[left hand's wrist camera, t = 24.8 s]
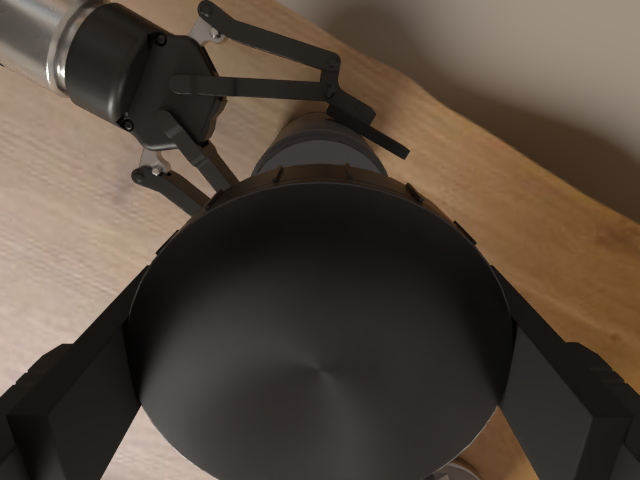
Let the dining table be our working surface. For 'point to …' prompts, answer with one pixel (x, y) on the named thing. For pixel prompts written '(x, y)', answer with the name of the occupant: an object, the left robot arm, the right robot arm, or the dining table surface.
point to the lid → (319, 331)
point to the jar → (318, 146)
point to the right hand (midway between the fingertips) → (370, 205)
